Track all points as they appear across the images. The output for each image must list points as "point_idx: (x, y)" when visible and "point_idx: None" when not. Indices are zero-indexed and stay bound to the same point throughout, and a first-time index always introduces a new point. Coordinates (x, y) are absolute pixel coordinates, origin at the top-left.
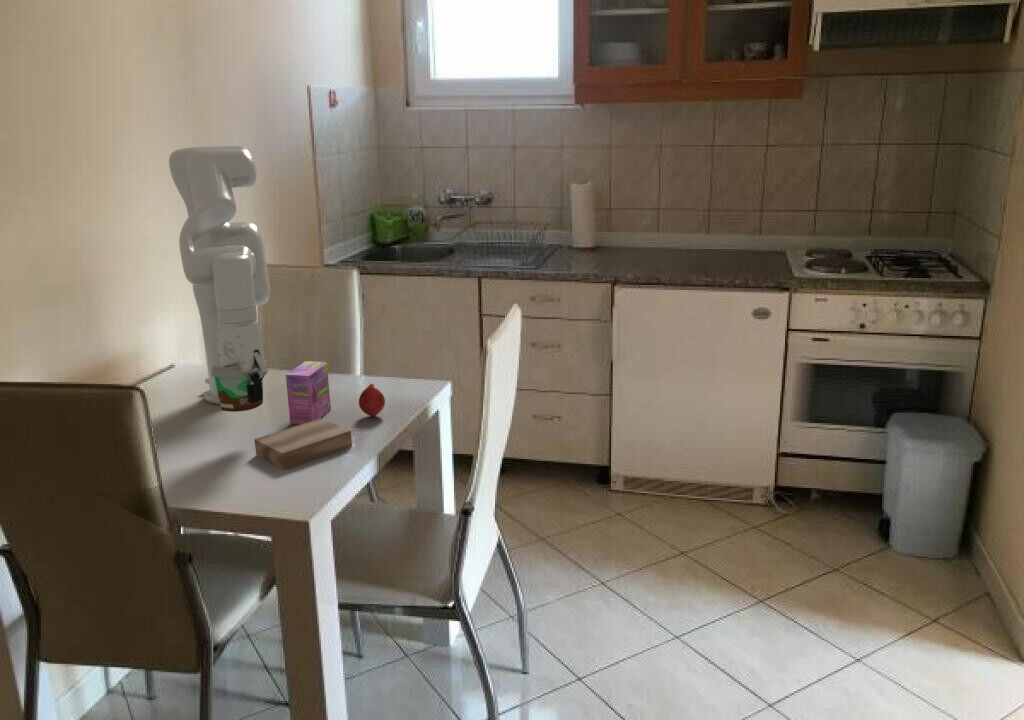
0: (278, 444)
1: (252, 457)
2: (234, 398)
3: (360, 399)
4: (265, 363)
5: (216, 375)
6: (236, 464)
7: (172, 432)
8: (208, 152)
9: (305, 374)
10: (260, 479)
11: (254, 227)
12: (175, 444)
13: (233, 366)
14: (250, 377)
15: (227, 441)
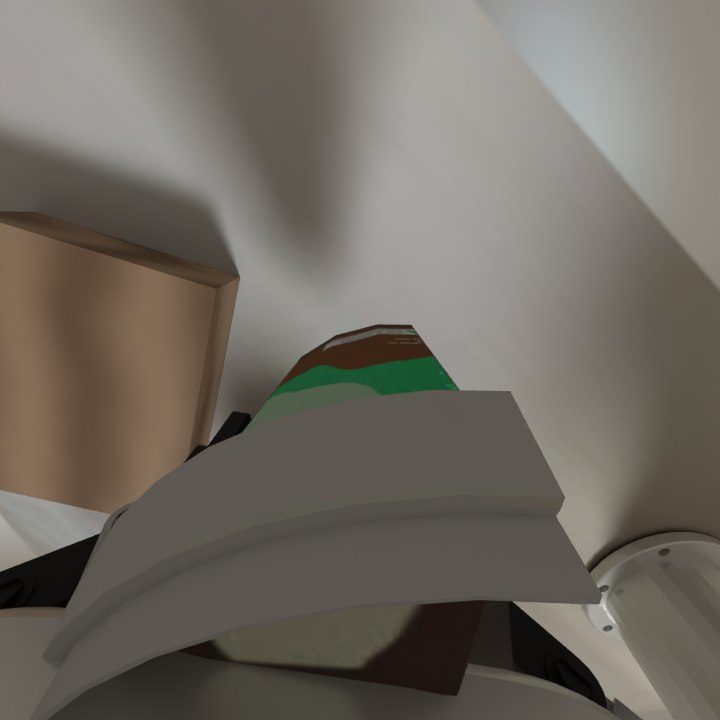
0: (77, 286)
1: (236, 256)
2: (297, 374)
3: None
4: None
5: (399, 409)
6: (234, 174)
7: (687, 315)
8: None
9: None
10: (21, 90)
11: None
12: (606, 230)
13: (226, 705)
14: (83, 573)
15: (431, 332)
